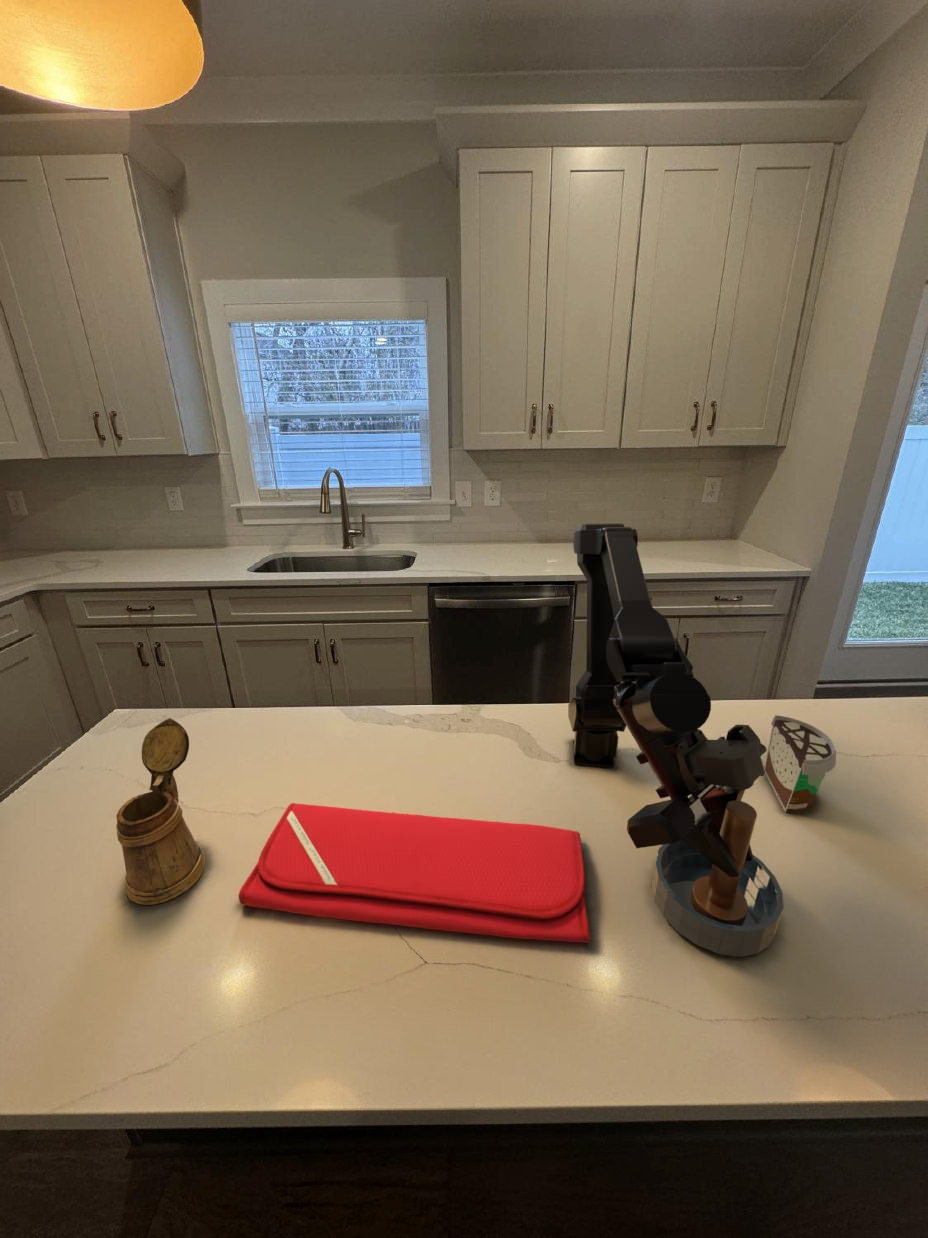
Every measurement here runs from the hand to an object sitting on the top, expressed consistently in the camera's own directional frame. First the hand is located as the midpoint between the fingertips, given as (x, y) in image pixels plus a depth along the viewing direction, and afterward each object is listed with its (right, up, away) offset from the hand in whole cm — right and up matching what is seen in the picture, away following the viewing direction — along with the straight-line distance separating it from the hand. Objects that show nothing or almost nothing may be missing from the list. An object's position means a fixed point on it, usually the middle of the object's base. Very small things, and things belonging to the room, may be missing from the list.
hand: (742, 868), depth 53 cm
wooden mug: (-68, -6, +14) cm, 69 cm away
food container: (+21, 0, +24) cm, 32 cm away
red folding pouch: (-35, -6, +11) cm, 37 cm away
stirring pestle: (-1, -6, +4) cm, 7 cm away
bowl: (0, -8, +7) cm, 10 cm away
